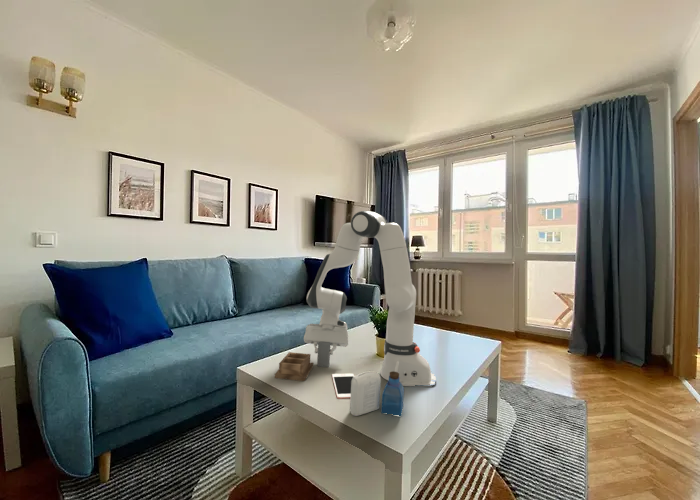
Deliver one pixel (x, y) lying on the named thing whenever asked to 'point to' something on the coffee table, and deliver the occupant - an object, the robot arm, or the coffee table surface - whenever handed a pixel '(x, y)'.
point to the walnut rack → (294, 367)
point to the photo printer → (365, 393)
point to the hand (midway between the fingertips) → (323, 353)
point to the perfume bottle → (393, 395)
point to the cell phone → (342, 385)
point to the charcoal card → (323, 354)
